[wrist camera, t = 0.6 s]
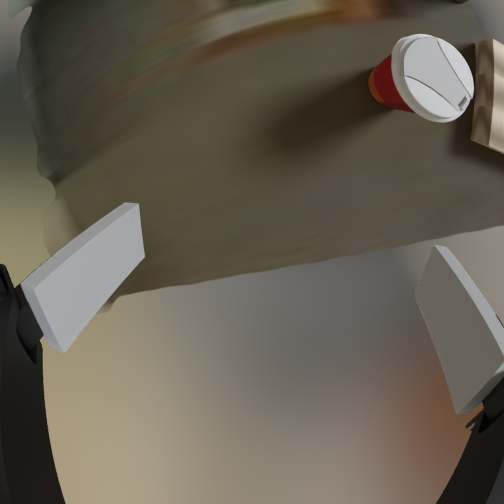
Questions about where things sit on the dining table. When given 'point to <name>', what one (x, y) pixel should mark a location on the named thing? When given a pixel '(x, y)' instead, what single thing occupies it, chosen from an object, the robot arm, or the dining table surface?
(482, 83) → the maple block
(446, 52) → the coffee cup
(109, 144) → the dining table surface
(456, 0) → the walnut peg
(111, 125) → the dining table surface
